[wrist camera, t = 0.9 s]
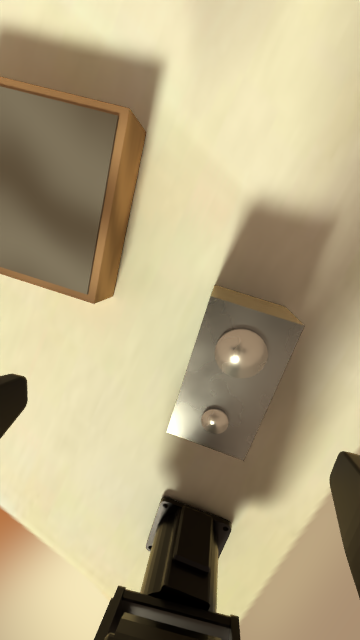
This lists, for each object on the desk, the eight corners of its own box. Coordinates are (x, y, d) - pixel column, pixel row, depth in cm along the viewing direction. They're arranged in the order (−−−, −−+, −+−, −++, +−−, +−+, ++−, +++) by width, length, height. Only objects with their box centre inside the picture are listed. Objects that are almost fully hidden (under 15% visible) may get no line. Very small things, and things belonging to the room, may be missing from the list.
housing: (240, 412, 21) (244, 463, 16) (180, 391, 21) (165, 434, 16) (284, 306, 18) (305, 326, 13) (215, 284, 19) (210, 296, 14)
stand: (112, 296, 20) (92, 304, 17) (-16, 255, 21) (-57, 256, 18) (146, 132, 17) (128, 107, 14) (-8, 93, 18) (-55, 61, 15)
